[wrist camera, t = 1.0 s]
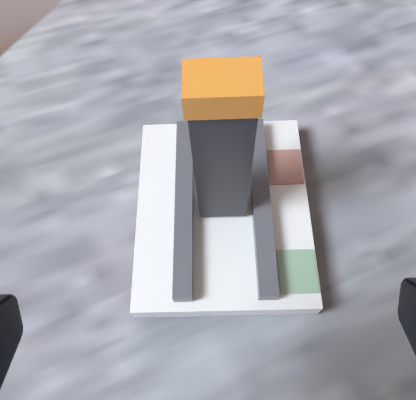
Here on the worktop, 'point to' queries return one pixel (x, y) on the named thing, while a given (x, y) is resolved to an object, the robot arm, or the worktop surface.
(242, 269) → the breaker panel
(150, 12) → the worktop surface
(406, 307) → the robot arm
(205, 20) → the worktop surface
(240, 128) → the handle
